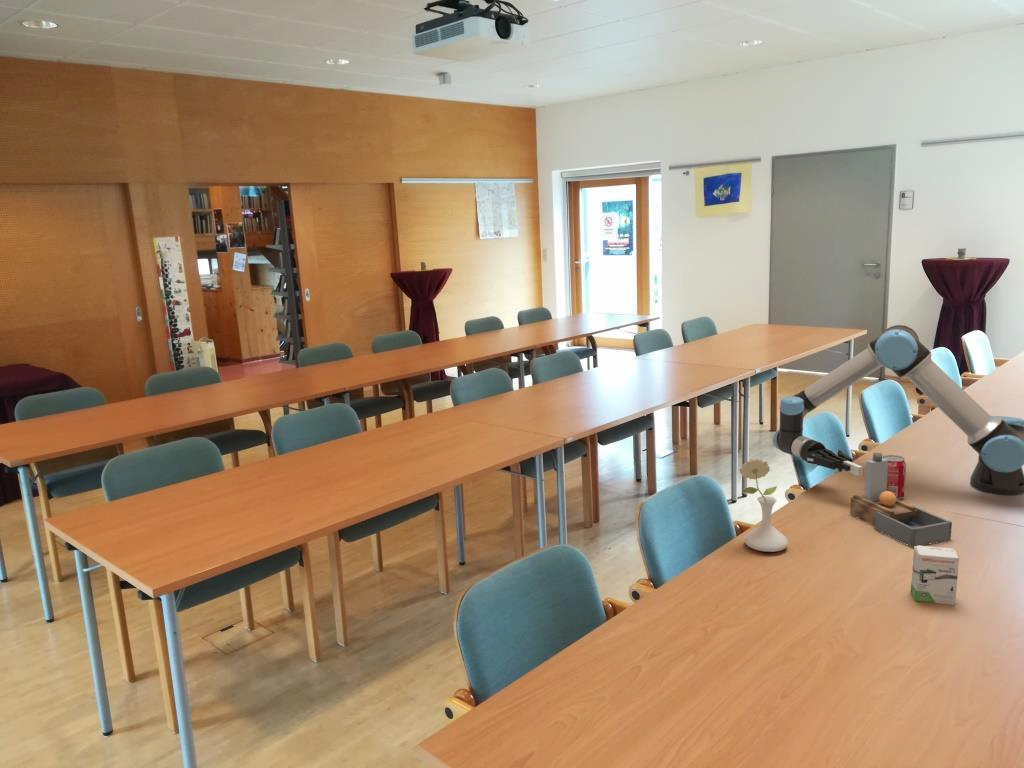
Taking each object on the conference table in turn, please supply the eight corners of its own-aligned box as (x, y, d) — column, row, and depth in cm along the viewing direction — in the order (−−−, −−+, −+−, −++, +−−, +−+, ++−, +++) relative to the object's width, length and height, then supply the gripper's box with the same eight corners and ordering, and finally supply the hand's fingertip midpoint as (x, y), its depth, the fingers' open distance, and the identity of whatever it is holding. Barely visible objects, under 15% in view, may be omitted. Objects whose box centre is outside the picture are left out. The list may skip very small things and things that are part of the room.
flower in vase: (790, 541, 210) (792, 455, 205) (785, 558, 200) (788, 468, 195) (741, 535, 215) (742, 451, 210) (734, 551, 205) (736, 463, 200)
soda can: (907, 501, 234) (909, 461, 231) (882, 501, 235) (884, 461, 233) (900, 493, 241) (902, 454, 238) (876, 493, 242) (878, 454, 239)
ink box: (914, 601, 175) (917, 553, 172) (910, 591, 179) (913, 544, 177) (956, 605, 172) (960, 557, 170) (951, 595, 177) (954, 548, 174)
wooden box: (850, 514, 227) (850, 495, 225) (877, 509, 229) (878, 490, 228) (887, 532, 213) (888, 512, 211) (916, 527, 215) (917, 507, 214)
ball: (893, 503, 220) (894, 489, 219) (897, 509, 216) (898, 494, 215) (877, 502, 221) (878, 488, 220) (880, 508, 217) (881, 493, 216)
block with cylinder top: (864, 499, 223) (866, 454, 220) (880, 496, 225) (882, 451, 222) (870, 502, 221) (872, 456, 218) (886, 499, 222) (889, 453, 220)
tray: (874, 528, 215) (875, 512, 214) (911, 522, 219) (912, 505, 218) (912, 547, 202) (913, 529, 201) (950, 539, 206) (951, 522, 205)
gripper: (825, 458, 252) (877, 480, 230) (791, 463, 249) (841, 486, 227) (826, 437, 251) (878, 456, 229) (792, 441, 247) (842, 462, 225)
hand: (860, 471), depth 228 cm, fingers closed
